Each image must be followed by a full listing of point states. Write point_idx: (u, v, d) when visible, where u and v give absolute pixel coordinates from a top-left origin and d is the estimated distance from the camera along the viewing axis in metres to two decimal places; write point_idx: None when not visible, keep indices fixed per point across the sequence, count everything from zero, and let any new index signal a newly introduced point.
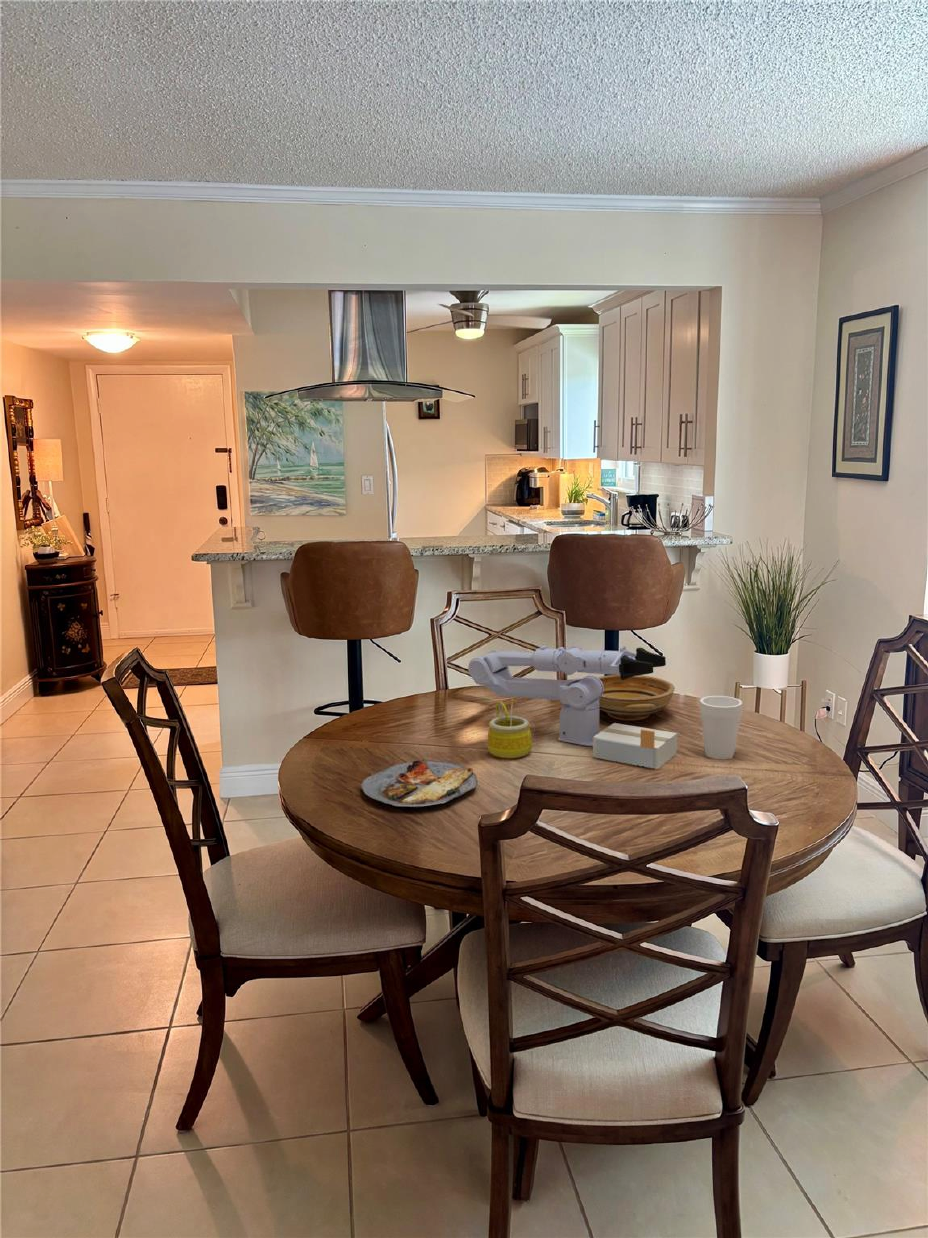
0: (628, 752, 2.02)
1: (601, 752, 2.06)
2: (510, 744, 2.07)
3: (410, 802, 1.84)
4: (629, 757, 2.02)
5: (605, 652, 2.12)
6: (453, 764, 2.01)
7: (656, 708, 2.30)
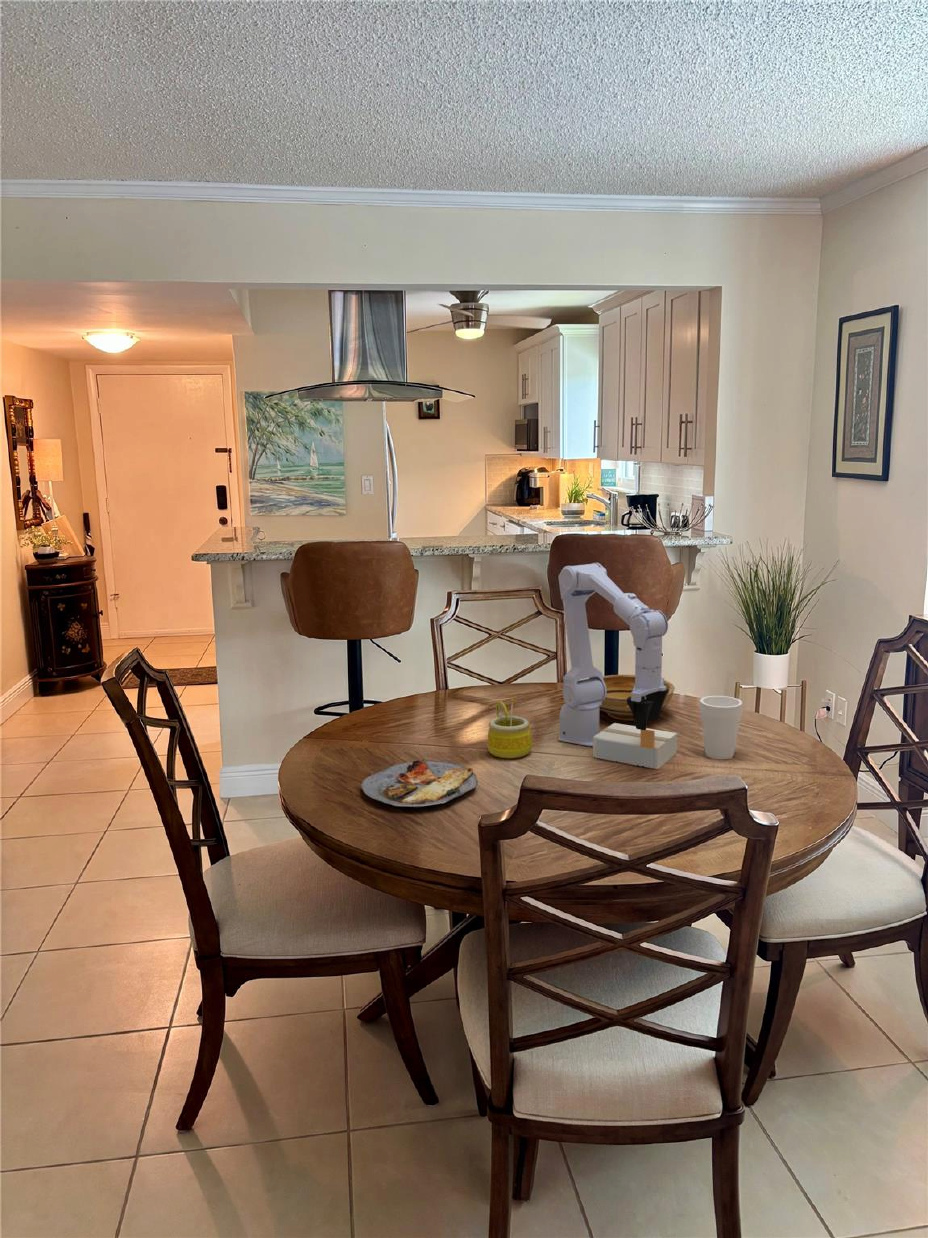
0: (628, 752, 2.02)
1: (601, 752, 2.06)
2: (510, 744, 2.07)
3: (410, 802, 1.84)
4: (629, 757, 2.02)
5: (658, 670, 1.94)
6: (453, 764, 2.01)
7: None
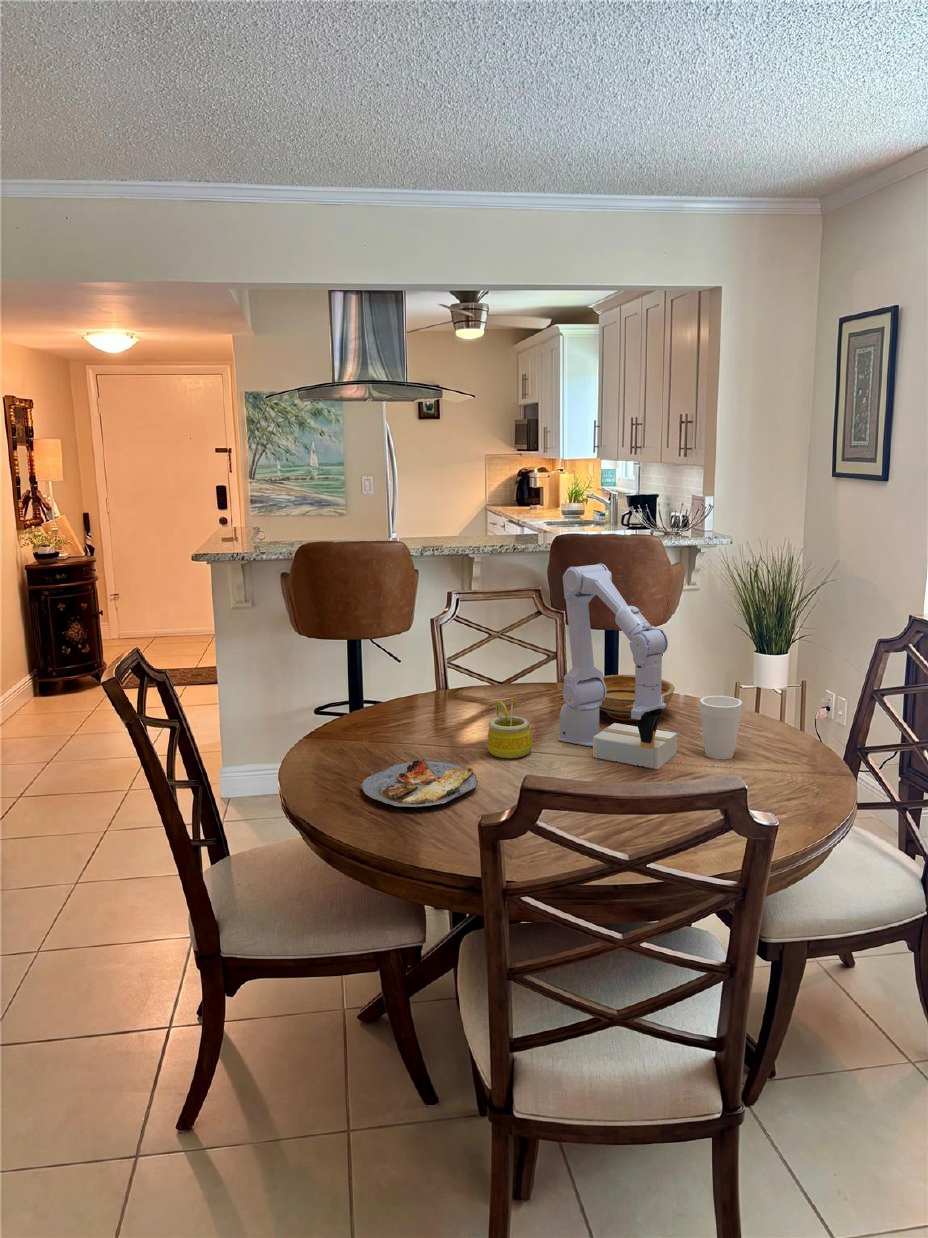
0: (628, 752, 2.02)
1: (601, 752, 2.06)
2: (510, 744, 2.07)
3: (410, 802, 1.84)
4: (629, 757, 2.02)
5: (657, 688, 1.95)
6: (453, 764, 2.01)
7: None
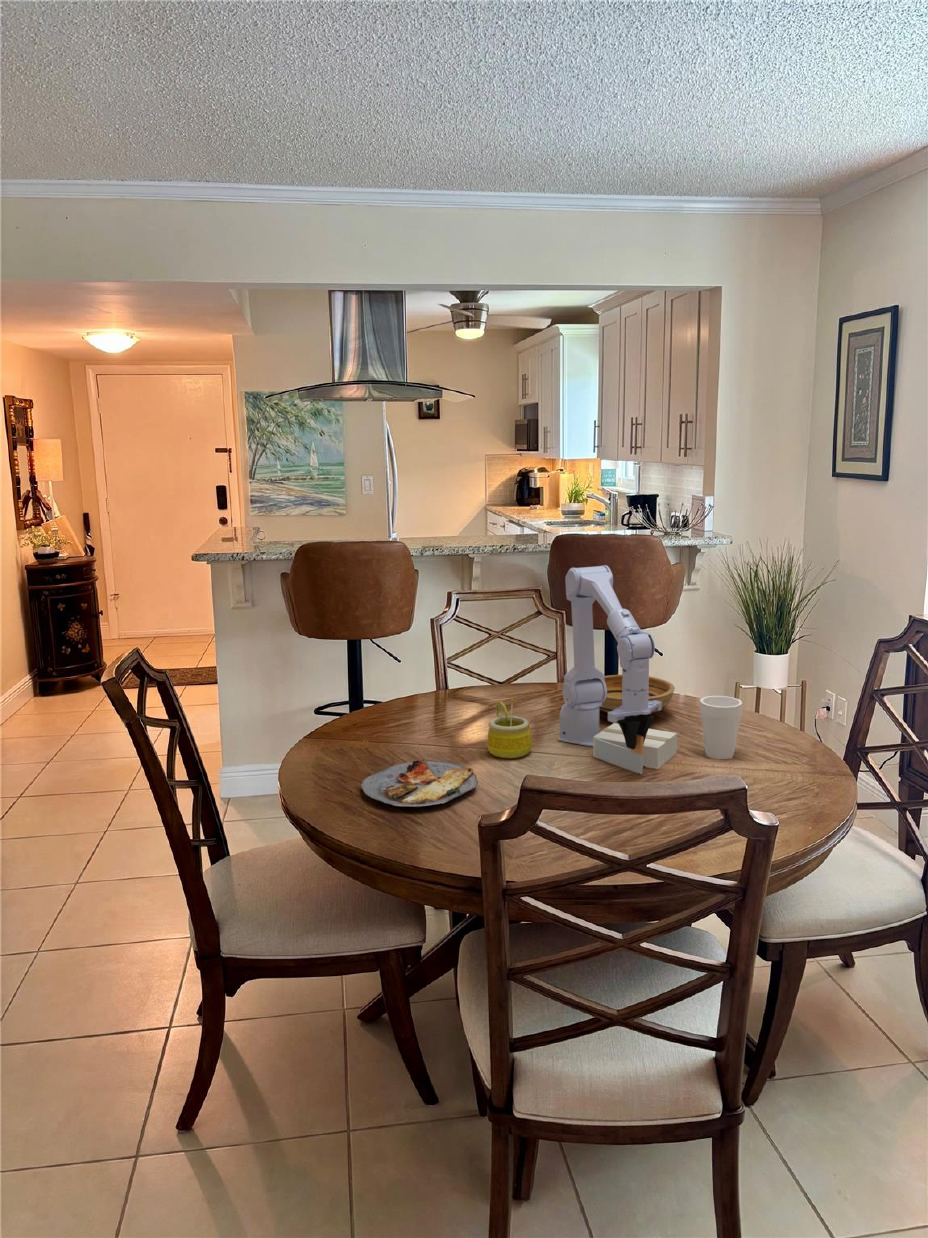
0: (621, 755, 2.00)
1: (599, 753, 2.06)
2: (510, 744, 2.07)
3: (410, 802, 1.84)
4: (622, 760, 2.00)
5: (641, 693, 1.91)
6: (453, 764, 2.01)
7: None
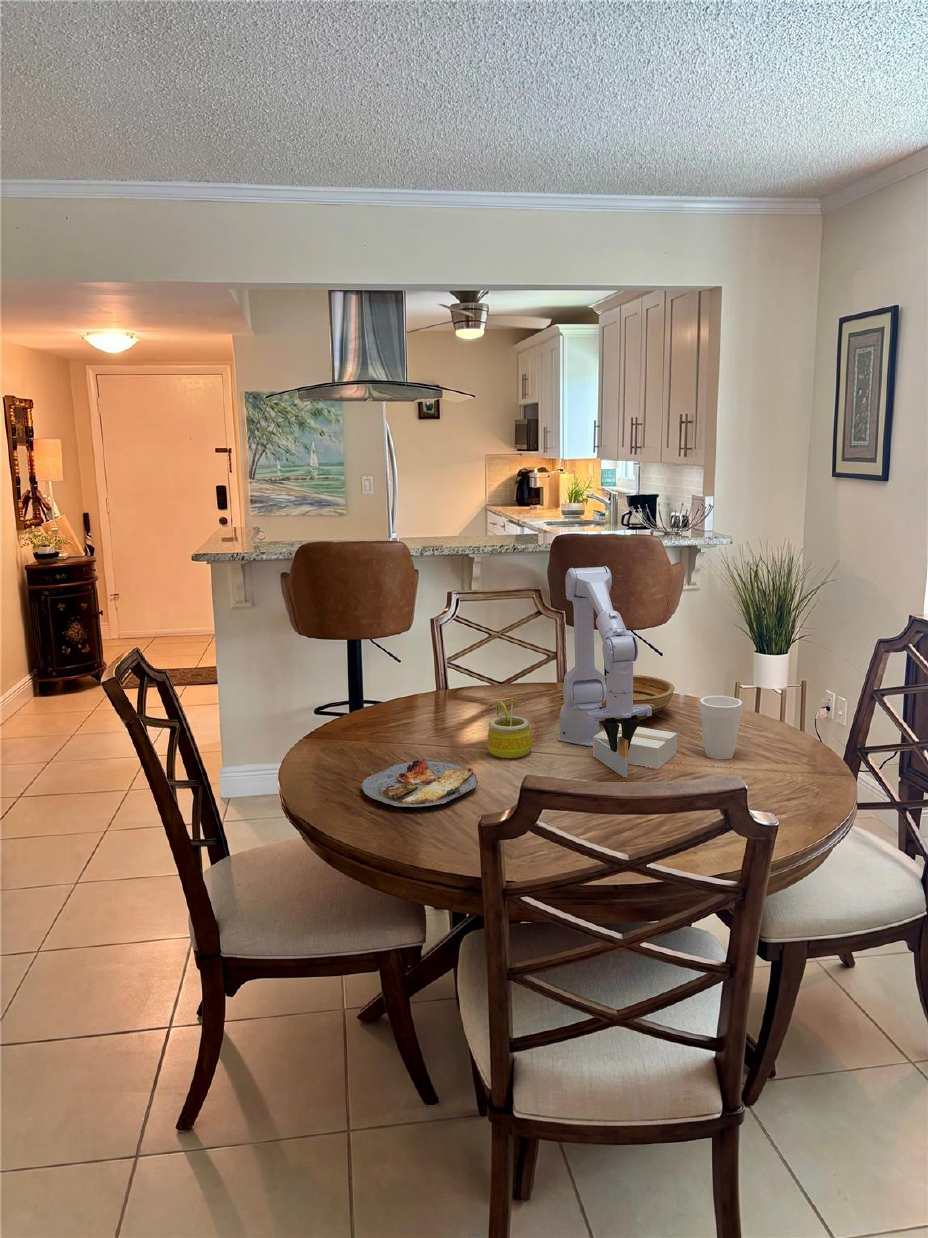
0: (612, 757, 1.99)
1: (598, 753, 2.06)
2: (510, 744, 2.07)
3: (410, 802, 1.84)
4: (612, 762, 1.99)
5: (621, 696, 1.89)
6: (453, 764, 2.01)
7: (656, 708, 2.30)
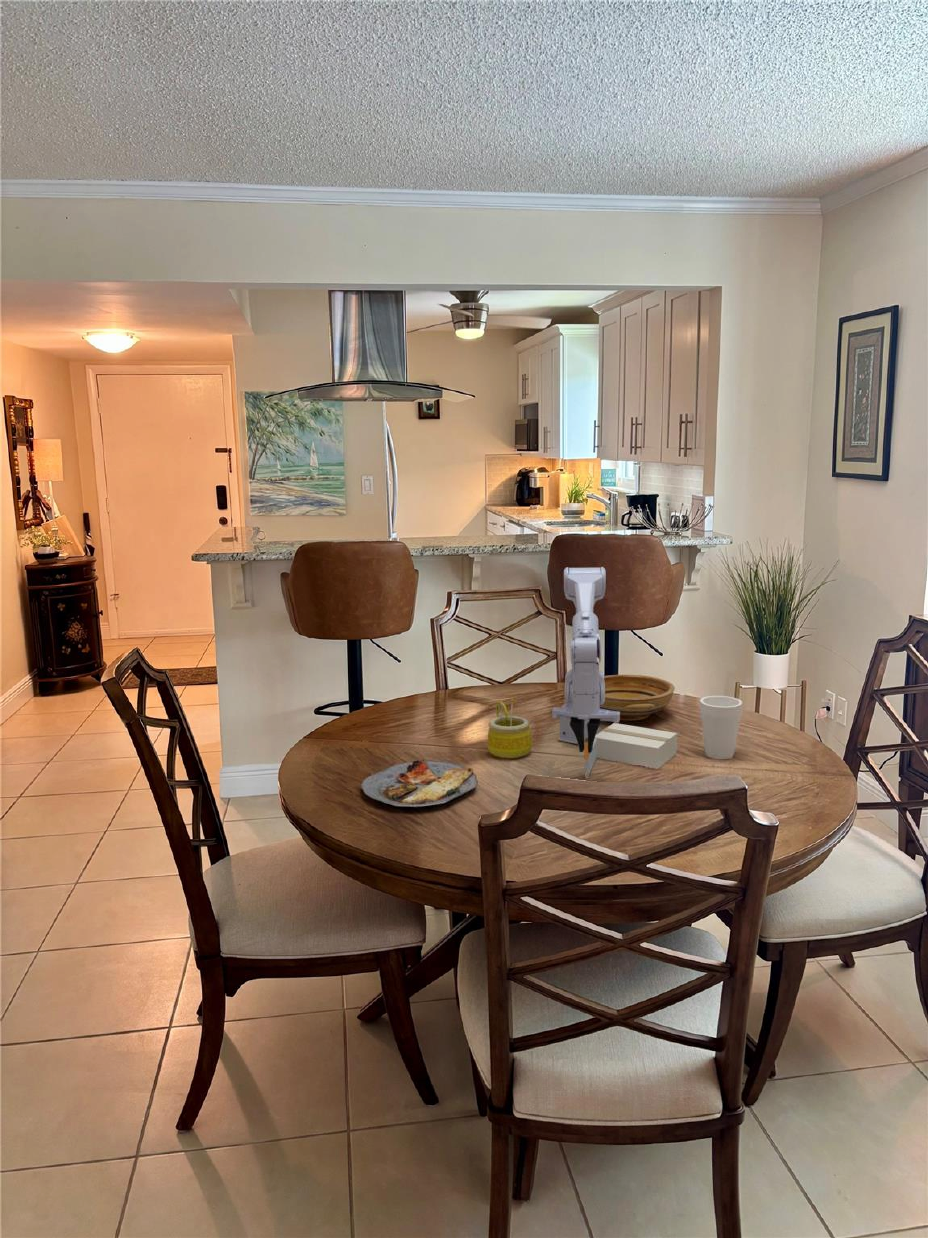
0: None
1: None
2: (510, 744, 2.07)
3: (410, 802, 1.84)
4: None
5: (579, 697, 1.90)
6: (453, 764, 2.01)
7: (656, 708, 2.30)
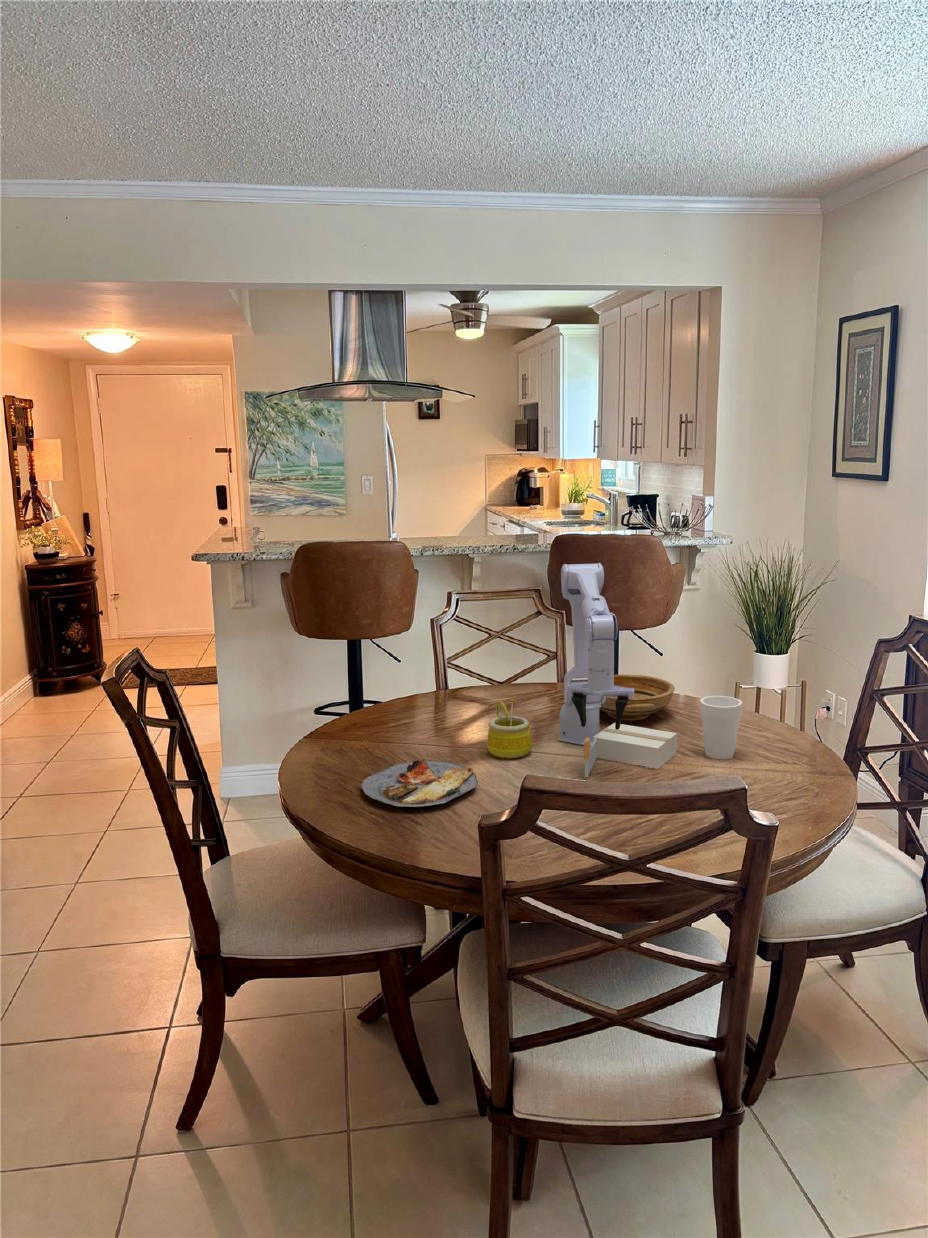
0: None
1: None
2: (510, 744, 2.07)
3: (410, 802, 1.84)
4: None
5: (594, 673, 1.94)
6: (453, 764, 2.01)
7: (656, 708, 2.30)
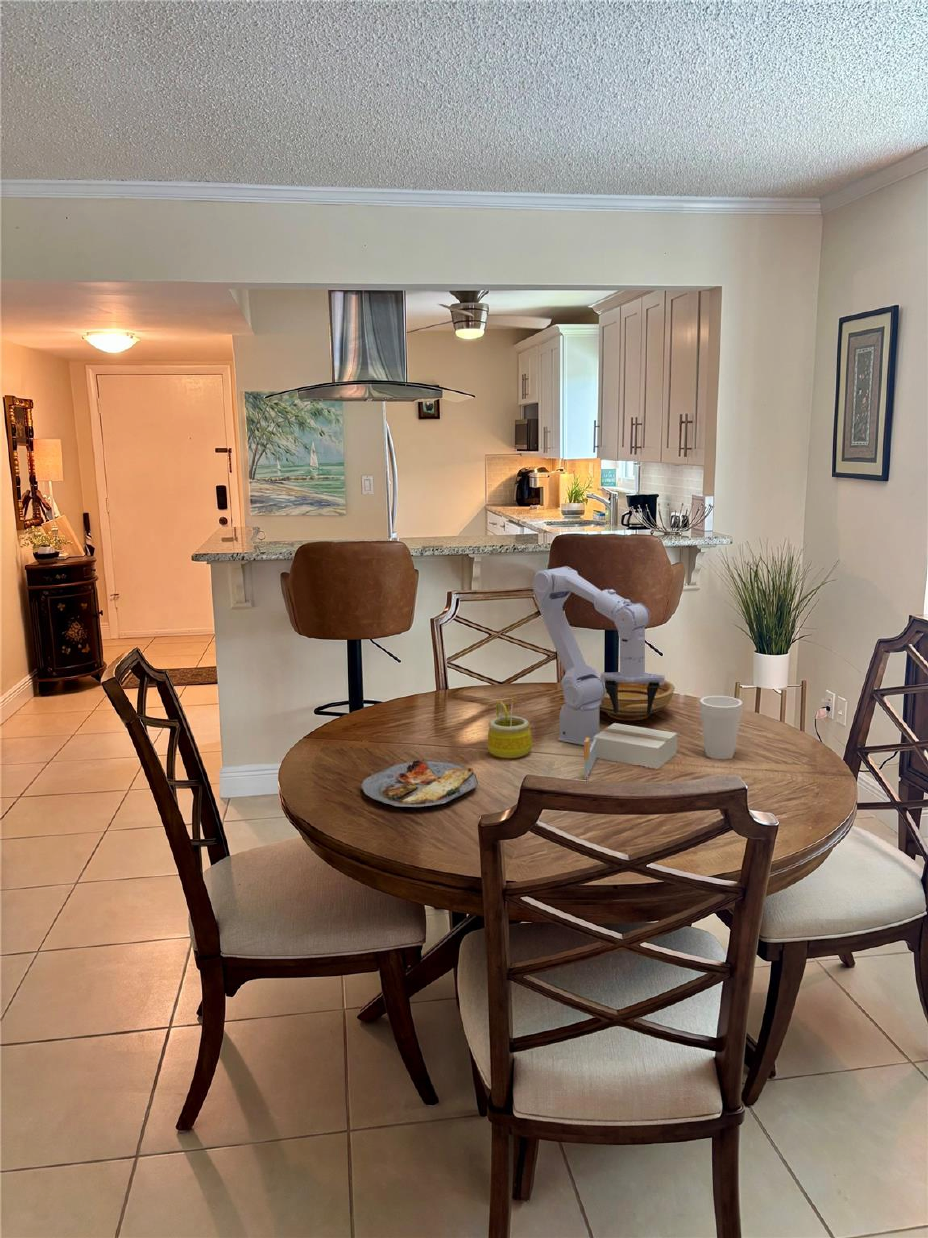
0: None
1: None
2: (510, 744, 2.07)
3: (410, 802, 1.84)
4: None
5: (626, 661, 2.03)
6: (453, 764, 2.01)
7: (656, 708, 2.30)
